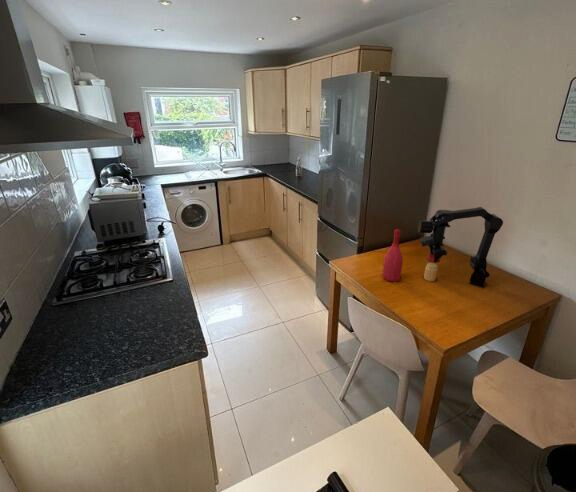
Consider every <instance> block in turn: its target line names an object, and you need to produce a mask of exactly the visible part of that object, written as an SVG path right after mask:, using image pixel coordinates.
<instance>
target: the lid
mask: <svg viewBox="0 0 576 492" xmlns="http://www.w3.org/2000/svg"><path fill="white" fill-rule="evenodd" d="M426 260H427V262H429V263H433V264H439V263H440V262H441V258H440V259H439V260H438V261H437V262H436V263H435V262H434V255H432V254H427V256H426Z"/></svg>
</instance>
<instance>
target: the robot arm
mask: <svg viewBox="0 0 576 492" xmlns="http://www.w3.org/2000/svg"><path fill="white" fill-rule="evenodd" d="M477 217H478V218H479V217H481V218H483V220H484V223H483V224H484V232H483V235H482V237H481V240H480V243H479V247H478V249H477V252H476V254H475V255H471V256H470V260H469V261H468V263H469V266H470V267H471V269H472V270H473V271H472V273H471V275H470V279H469V281H470V282H469V284H470V285H474V286H476V287H479V288H480V287H481V288H484V287H485V284H486V280H487V278H489V277H490V276H491V274H490V272H488V270H487V267H488V263H487V262H488V261H487V257H488V254H489V252H490V250H491V246H492V243H493V241H494V238H495V235H496V234H497V233H498V232H499V231H500V230H501V228H502V226H503V225H504V220H503V219H502V218H501V217H499V216H498V215H496V214H494V213H490V212H488V211H487V210H486V209H485V208H484V207H482V206H478V207H472V208H464V209H456V210H449V209H438V210H436V211H435V213H434V214H433V216H432V217H430V218H429V220H425V219H421V220H420V221H419V222H418V225H417V231H418V233H419V234H420V233H421V234H430V235H428V236H424V237H420V238H419V242H420V245H421V246H422V247H427V246H428V247H429V255H431V254H432V255H434V262H435V263H434V264H437V263H436V262H437V261H438V260H439V259H440V260H441V258H442V257H443V256H447V255H448V250H447V249H446V248H445V247H444V240H445V239H446V237H445V235H446V234H445V233H446V228H451V225H450V224H449V223H451V222H453V221H455V220H461V219H470V218H477Z"/></svg>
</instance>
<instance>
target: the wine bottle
mask: <svg viewBox="0 0 576 492" xmlns="http://www.w3.org/2000/svg"><path fill="white" fill-rule="evenodd" d="M401 233H402V230H401V229H399V228H395V229H394V233H393V242H392V244H391V246H390V248H389V249H388V251H387V253H386V254H385V256H384V258H383V259H384V260H383V266H382V278H383V279H384V280H385V281H388V282H391V283H392V282H393V283H394V282H398V281H399V280H400V279H401V275H402V269H403V264H404V263H403V254H402V252H401V248H400V238H401Z"/></svg>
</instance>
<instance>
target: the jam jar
mask: <svg viewBox="0 0 576 492" xmlns="http://www.w3.org/2000/svg"><path fill="white" fill-rule="evenodd" d="M437 275H438V264H437V263H433V262H428V263H426V265H425V268H424V274H423V279H424V280H426V281H428V282H435V281H436V280H437Z"/></svg>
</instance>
